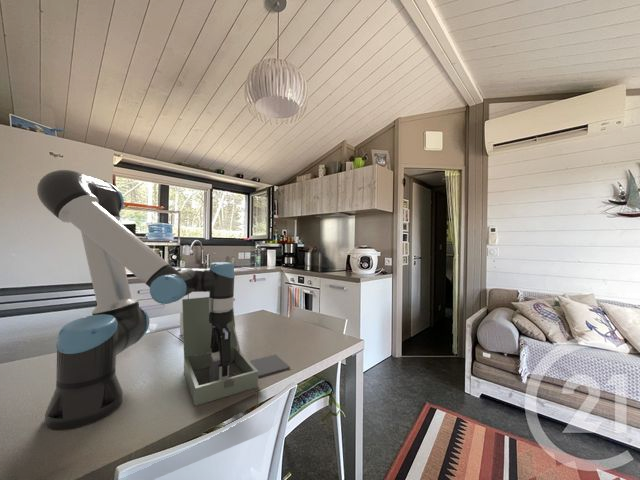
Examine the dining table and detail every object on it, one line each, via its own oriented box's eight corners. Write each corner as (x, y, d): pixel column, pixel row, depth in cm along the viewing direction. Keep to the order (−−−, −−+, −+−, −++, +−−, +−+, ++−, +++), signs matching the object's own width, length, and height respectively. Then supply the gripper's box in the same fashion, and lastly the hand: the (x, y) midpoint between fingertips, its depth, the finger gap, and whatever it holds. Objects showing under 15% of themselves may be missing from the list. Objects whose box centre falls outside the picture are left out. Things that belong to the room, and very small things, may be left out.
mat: (258, 377, 87) (258, 375, 87) (245, 363, 97) (246, 361, 97) (290, 368, 94) (290, 366, 94) (275, 355, 104) (275, 354, 104)
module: (213, 385, 82) (213, 359, 82) (209, 377, 87) (210, 353, 87) (229, 380, 85) (230, 356, 85) (224, 373, 89) (225, 350, 89)
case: (195, 407, 71) (197, 322, 71) (180, 361, 97) (182, 299, 97) (258, 387, 82) (260, 313, 82) (229, 350, 107) (231, 294, 107)
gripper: (243, 316, 79) (241, 390, 79) (224, 301, 97) (222, 362, 97) (217, 320, 75) (215, 398, 75) (202, 303, 93) (200, 367, 93)
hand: (219, 378), depth 86 cm, fingers open, 9 cm apart
